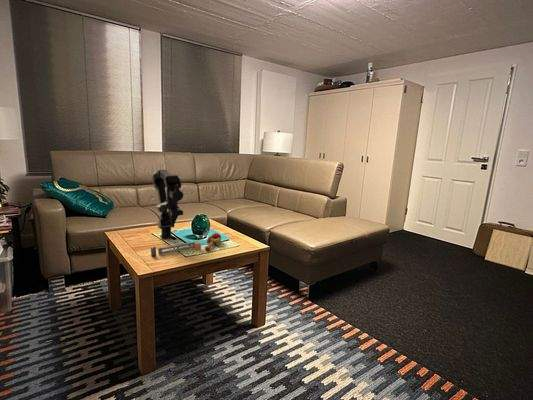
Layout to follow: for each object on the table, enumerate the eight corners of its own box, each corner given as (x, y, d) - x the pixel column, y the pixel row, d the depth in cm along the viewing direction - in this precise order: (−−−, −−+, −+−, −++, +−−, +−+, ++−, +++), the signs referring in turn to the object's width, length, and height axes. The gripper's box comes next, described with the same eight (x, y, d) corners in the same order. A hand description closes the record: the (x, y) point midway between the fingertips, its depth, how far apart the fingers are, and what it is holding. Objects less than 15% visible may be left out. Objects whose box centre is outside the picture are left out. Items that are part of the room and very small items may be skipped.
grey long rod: (158, 253, 151) (158, 247, 150) (195, 246, 162) (195, 241, 161) (159, 254, 149) (158, 248, 149) (196, 247, 160) (196, 242, 160)
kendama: (215, 254, 156) (224, 239, 173) (213, 244, 155) (222, 230, 171) (202, 255, 158) (212, 240, 175) (199, 245, 156) (210, 231, 173)
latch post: (193, 249, 159) (193, 242, 159) (199, 248, 161) (198, 241, 160) (195, 251, 157) (195, 244, 156) (201, 250, 159) (200, 243, 158)
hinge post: (150, 255, 149) (150, 247, 148) (155, 254, 150) (155, 246, 149) (151, 257, 147) (151, 248, 146) (156, 256, 148) (156, 248, 147)
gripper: (153, 195, 164) (154, 222, 167) (162, 201, 149) (163, 230, 153) (172, 194, 171) (173, 219, 174) (183, 200, 156) (183, 227, 159)
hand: (173, 224), depth 165 cm, fingers closed
